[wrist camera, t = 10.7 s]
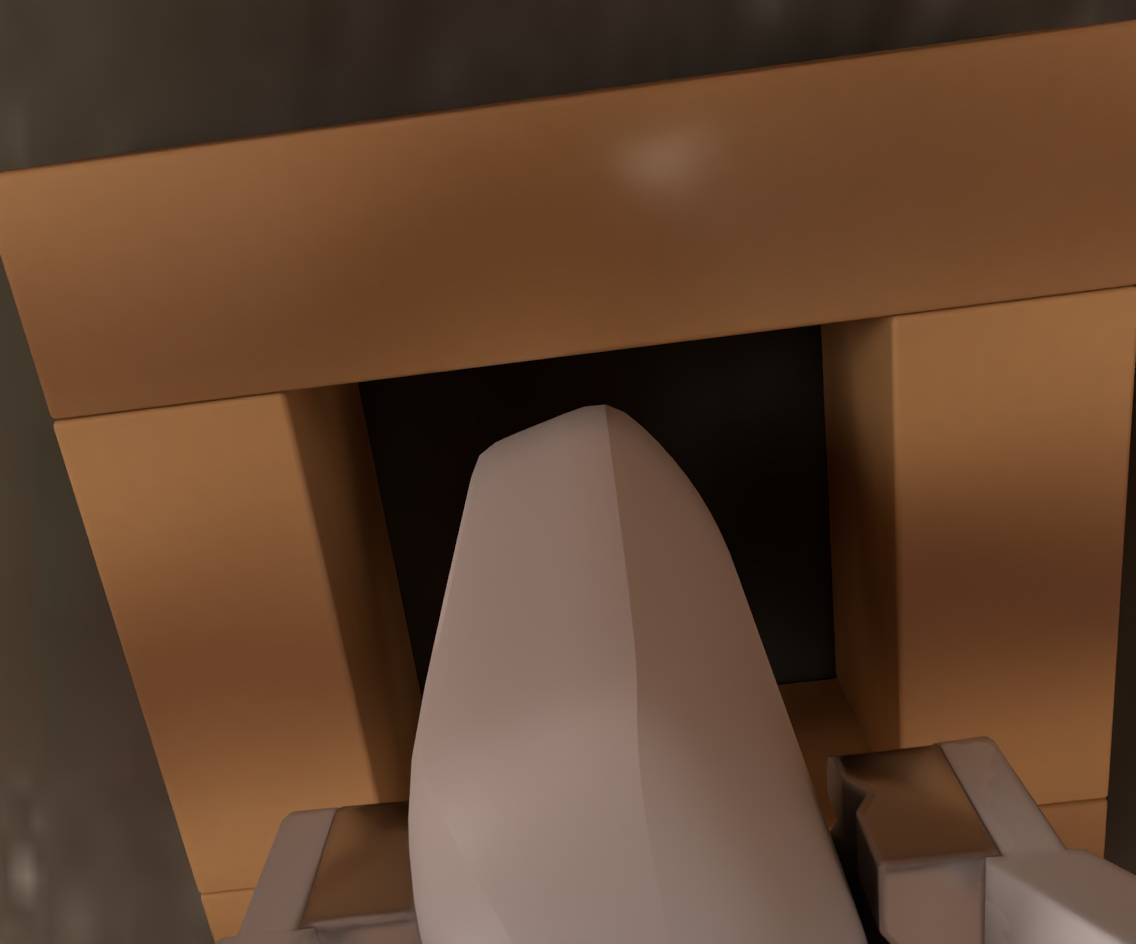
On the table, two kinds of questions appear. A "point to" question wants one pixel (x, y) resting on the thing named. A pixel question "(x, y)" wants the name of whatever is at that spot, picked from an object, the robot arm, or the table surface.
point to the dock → (596, 324)
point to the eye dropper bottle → (608, 719)
